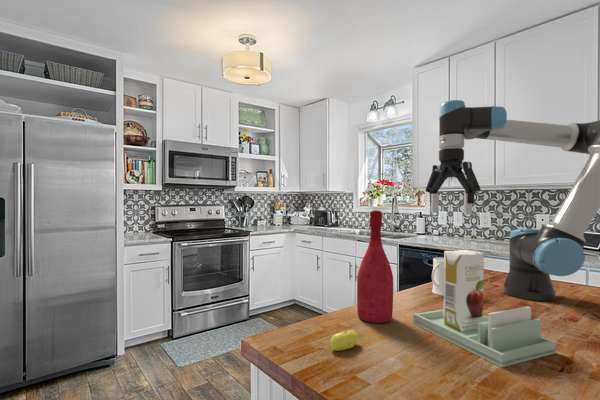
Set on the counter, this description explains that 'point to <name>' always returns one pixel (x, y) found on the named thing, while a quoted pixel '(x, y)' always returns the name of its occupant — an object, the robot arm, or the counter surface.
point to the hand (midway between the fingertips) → (450, 213)
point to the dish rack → (495, 336)
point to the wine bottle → (375, 278)
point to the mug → (438, 276)
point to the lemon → (344, 340)
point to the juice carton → (463, 289)
